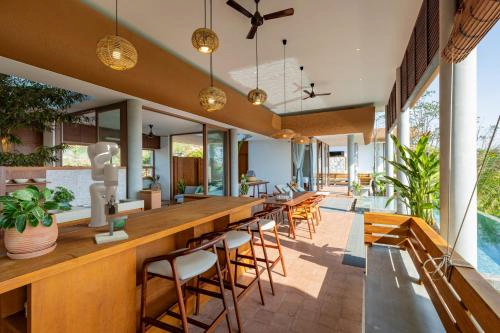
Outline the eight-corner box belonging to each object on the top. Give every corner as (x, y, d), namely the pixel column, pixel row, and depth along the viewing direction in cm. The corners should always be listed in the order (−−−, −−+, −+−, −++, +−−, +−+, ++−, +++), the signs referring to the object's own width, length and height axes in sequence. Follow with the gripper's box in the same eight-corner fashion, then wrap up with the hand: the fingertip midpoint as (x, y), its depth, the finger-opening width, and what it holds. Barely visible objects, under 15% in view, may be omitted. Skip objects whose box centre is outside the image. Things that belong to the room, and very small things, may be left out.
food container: (104, 232, 153) (104, 217, 153) (108, 230, 159) (108, 215, 159) (124, 231, 155) (124, 216, 155) (127, 229, 161) (127, 215, 161)
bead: (104, 214, 143) (104, 204, 143) (116, 212, 147) (116, 203, 147) (105, 215, 138) (105, 205, 138) (117, 214, 142) (117, 204, 142)
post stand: (94, 237, 143) (94, 221, 143) (123, 232, 153) (123, 218, 153) (97, 243, 131) (97, 227, 131) (128, 238, 141) (128, 222, 141)
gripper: (102, 183, 147) (102, 211, 147) (105, 185, 133) (105, 216, 133) (115, 182, 151) (115, 210, 151) (120, 184, 138) (120, 214, 138)
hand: (111, 212), depth 142 cm, fingers closed on bead, 6 cm apart
